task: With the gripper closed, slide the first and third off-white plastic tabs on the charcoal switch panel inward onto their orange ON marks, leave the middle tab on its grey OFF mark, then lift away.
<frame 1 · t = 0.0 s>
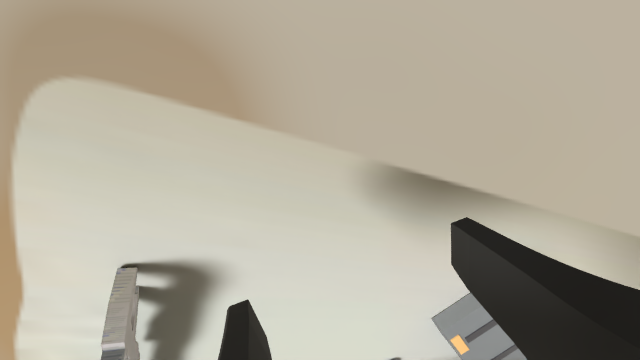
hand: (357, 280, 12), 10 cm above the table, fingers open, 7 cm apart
switch panel: (504, 334, 38), on the table
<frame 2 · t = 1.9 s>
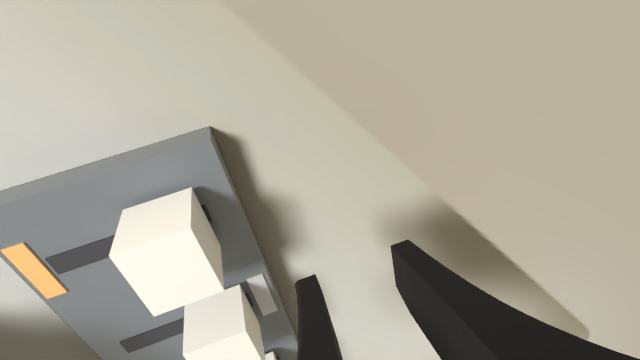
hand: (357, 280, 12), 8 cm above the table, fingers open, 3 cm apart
switch panel: (189, 301, 22), on the table
tab 2: (225, 337, 19), point 3 cm above the table, slide at 0.0 cm
tab 3: (173, 250, 16), point 3 cm above the table, slide at 0.0 cm
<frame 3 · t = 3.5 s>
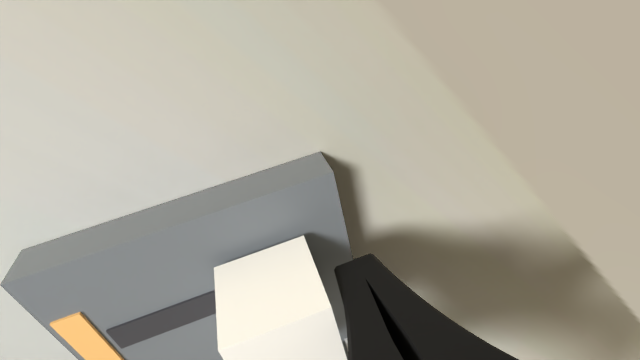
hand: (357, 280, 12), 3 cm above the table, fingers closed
tab 3: (283, 322, 11), point 3 cm above the table, slide at 0.0 cm, touching gripper
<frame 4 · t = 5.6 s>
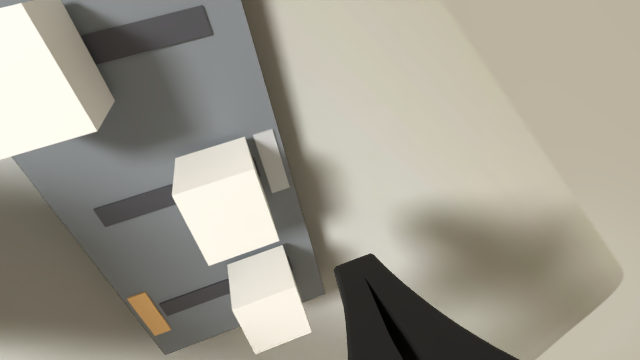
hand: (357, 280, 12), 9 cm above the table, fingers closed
switch panel: (182, 175, 18), on the table
tab 2: (227, 199, 15), point 3 cm above the table, slide at 0.0 cm
tab 3: (26, 74, 11), point 3 cm above the table, slide at 4.1 cm
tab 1: (269, 298, 19), point 3 cm above the table, slide at 0.0 cm
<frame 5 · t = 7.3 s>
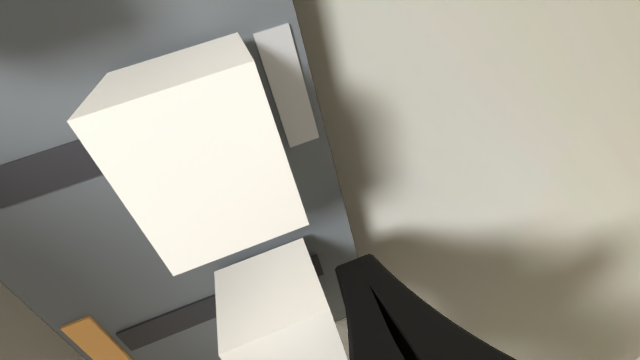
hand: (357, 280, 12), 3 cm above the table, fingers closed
switch panel: (137, 122, 11), on the table
tab 2: (207, 147, 8), point 3 cm above the table, slide at 0.0 cm
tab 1: (283, 325, 12), point 3 cm above the table, slide at 0.2 cm, touching gripper
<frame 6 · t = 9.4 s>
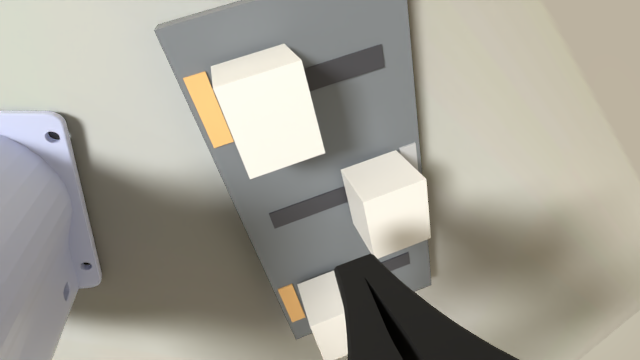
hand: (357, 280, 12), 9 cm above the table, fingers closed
switch panel: (327, 183, 21), on the table
tab 2: (385, 203, 18), point 3 cm above the table, slide at 0.0 cm
tab 3: (267, 109, 14), point 3 cm above the table, slide at 4.1 cm
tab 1: (335, 313, 21), point 3 cm above the table, slide at 4.1 cm
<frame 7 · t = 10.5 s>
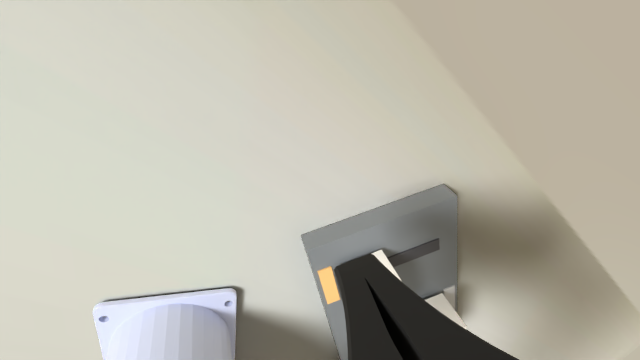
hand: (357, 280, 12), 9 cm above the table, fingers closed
switch panel: (389, 305, 29), on the table
tab 2: (435, 331, 26), point 3 cm above the table, slide at 0.0 cm
tab 3: (372, 294, 22), point 3 cm above the table, slide at 4.1 cm
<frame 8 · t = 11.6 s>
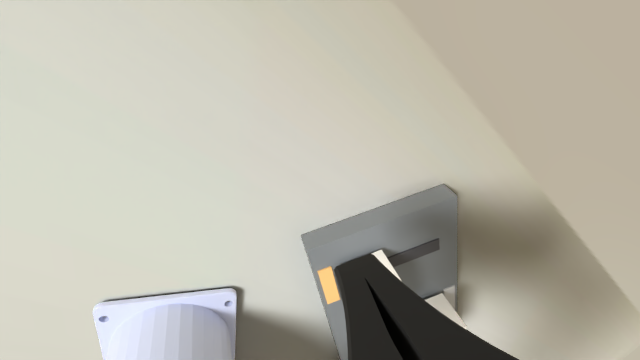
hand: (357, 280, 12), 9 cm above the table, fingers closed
switch panel: (389, 305, 29), on the table
tab 2: (435, 331, 26), point 3 cm above the table, slide at 0.0 cm
tab 3: (372, 294, 22), point 3 cm above the table, slide at 4.1 cm
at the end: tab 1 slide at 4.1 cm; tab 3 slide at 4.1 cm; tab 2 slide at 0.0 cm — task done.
